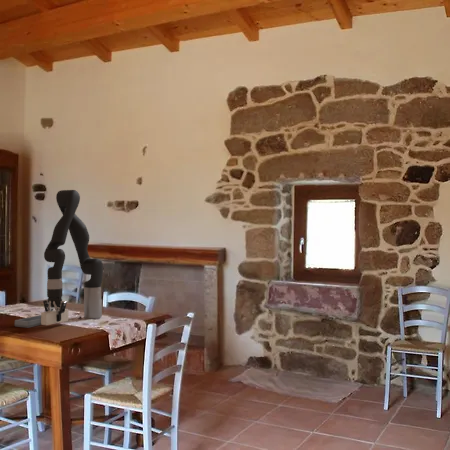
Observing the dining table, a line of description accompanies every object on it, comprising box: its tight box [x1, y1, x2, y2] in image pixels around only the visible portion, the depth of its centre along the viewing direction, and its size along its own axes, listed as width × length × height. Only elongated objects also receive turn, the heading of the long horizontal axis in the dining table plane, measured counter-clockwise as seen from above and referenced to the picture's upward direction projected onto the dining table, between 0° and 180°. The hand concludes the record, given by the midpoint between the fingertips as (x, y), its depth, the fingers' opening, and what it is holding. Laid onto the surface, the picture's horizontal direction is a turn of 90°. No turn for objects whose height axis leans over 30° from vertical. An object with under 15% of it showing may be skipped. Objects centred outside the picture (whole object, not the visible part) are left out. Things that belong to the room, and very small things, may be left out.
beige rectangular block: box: [40, 308, 69, 326], centre depth 271 cm, size 14×4×6 cm, turn 148°
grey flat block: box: [14, 314, 41, 329], centre depth 278 cm, size 19×9×3 cm, turn 155°
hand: (54, 320), depth 271 cm, fingers closed on beige rectangular block, 4 cm apart
